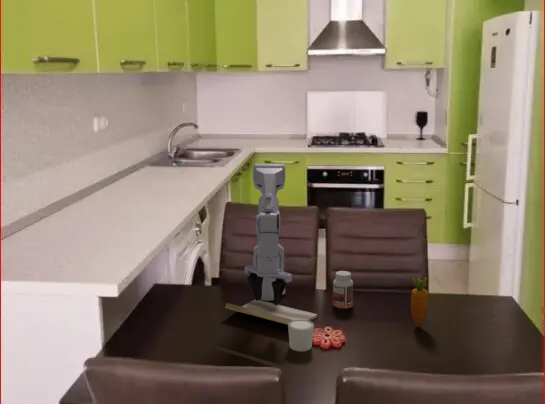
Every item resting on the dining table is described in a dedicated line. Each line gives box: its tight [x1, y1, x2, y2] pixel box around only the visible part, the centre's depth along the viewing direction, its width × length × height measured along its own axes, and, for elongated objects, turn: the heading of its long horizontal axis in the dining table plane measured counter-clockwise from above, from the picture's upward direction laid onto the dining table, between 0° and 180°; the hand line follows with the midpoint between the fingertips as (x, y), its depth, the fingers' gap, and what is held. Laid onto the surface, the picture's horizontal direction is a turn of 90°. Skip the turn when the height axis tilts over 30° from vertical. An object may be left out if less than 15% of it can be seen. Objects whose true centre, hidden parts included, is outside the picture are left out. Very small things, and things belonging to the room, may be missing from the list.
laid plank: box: [241, 299, 318, 322], centre depth 183 cm, size 8×22×2 cm, turn 57°
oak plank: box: [224, 302, 294, 326], centre depth 176 cm, size 8×22×2 cm, turn 58°
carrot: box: [410, 277, 429, 328], centre depth 174 cm, size 5×5×15 cm
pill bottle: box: [332, 270, 354, 309], centre depth 189 cm, size 6×6×11 cm
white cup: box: [287, 320, 315, 352], centre depth 160 cm, size 7×7×7 cm
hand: (267, 301), depth 171 cm, fingers open, 6 cm apart
